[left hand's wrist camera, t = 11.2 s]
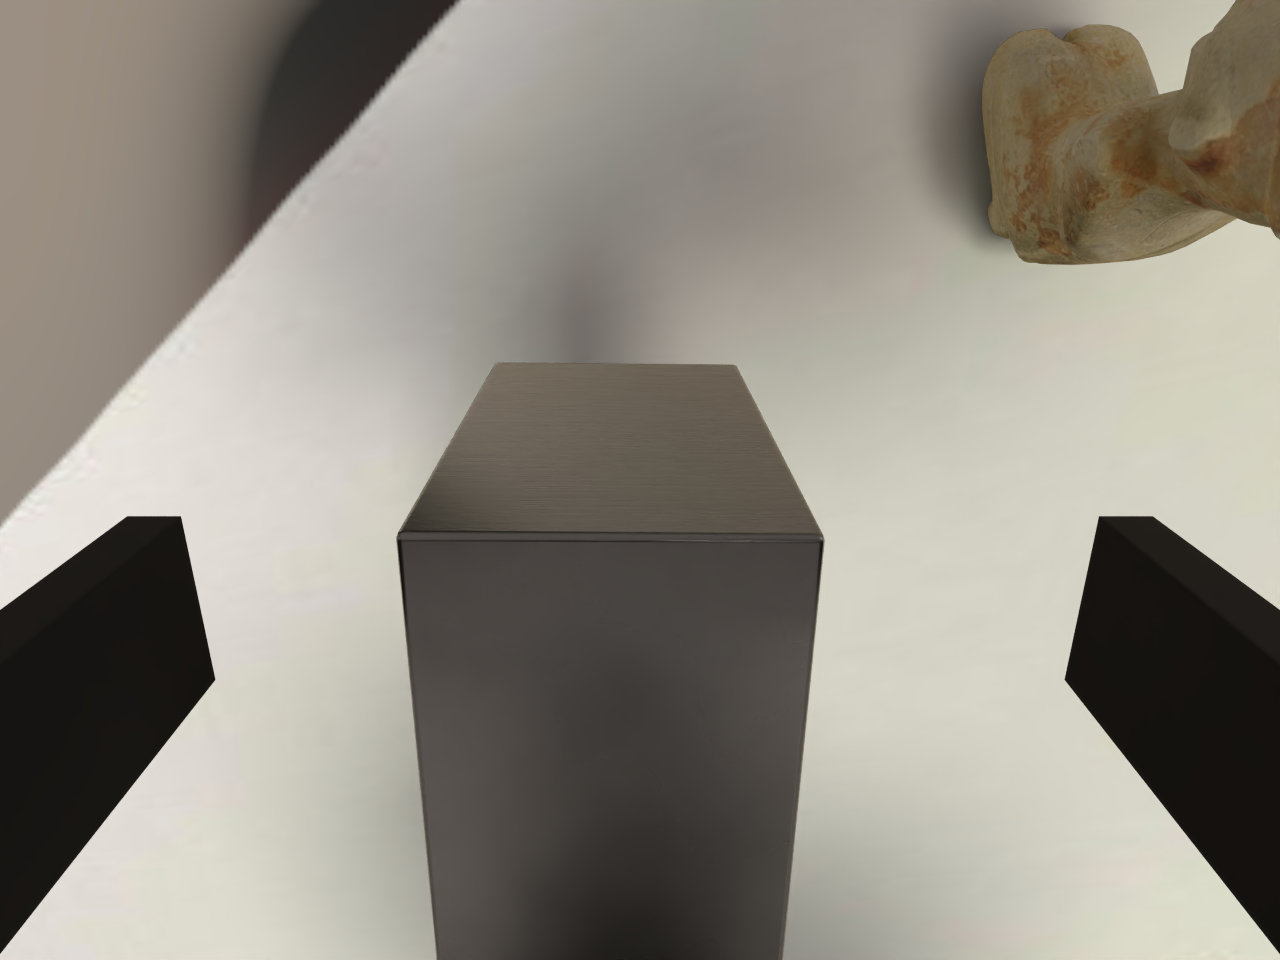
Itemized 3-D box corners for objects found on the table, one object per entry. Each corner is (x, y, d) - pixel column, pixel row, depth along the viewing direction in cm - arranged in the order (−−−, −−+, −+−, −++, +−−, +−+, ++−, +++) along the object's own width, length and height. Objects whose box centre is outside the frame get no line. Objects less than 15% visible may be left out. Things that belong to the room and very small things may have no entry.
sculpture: (1132, 24, 29) (1606, -83, 15) (1105, 245, 32) (1487, 328, 18) (958, 37, 29) (1270, -58, 15) (945, 257, 32) (1201, 349, 18)
